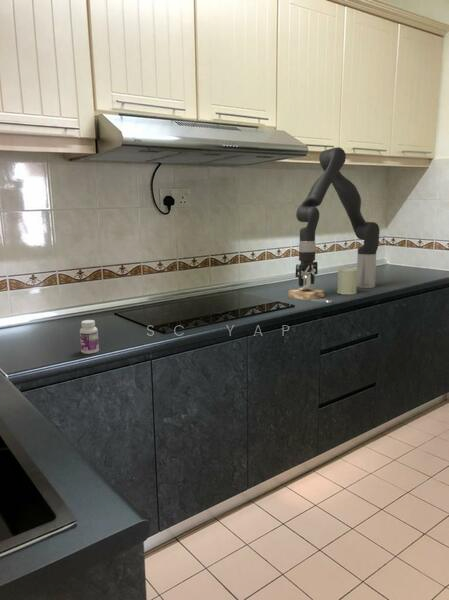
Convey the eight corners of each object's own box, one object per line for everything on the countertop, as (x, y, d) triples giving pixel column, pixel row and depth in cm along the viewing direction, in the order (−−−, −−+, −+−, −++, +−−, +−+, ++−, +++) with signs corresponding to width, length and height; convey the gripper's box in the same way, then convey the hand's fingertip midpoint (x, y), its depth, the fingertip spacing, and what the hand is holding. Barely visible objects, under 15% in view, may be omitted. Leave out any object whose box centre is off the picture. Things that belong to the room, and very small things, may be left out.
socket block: (303, 293, 236) (303, 287, 235) (324, 296, 228) (324, 290, 227) (288, 297, 227) (288, 290, 227) (309, 300, 219) (309, 294, 219)
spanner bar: (309, 300, 219) (309, 298, 219) (313, 299, 221) (313, 297, 221) (329, 303, 212) (329, 301, 212) (333, 302, 214) (333, 300, 214)
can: (357, 294, 231) (358, 269, 228) (337, 294, 232) (338, 269, 230) (356, 291, 239) (356, 267, 237) (336, 290, 241) (337, 267, 239)
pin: (305, 295, 230) (305, 272, 228) (311, 296, 228) (312, 273, 225) (301, 297, 228) (301, 273, 225) (307, 297, 225) (307, 274, 223)
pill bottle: (77, 351, 150) (75, 321, 148) (92, 347, 154) (90, 318, 152) (87, 355, 146) (85, 324, 144) (102, 351, 150) (100, 320, 148)
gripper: (309, 248, 231) (308, 282, 234) (291, 251, 221) (290, 286, 224) (322, 249, 225) (321, 284, 229) (304, 252, 216) (304, 288, 219)
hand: (306, 285), depth 226 cm, fingers open, 8 cm apart
